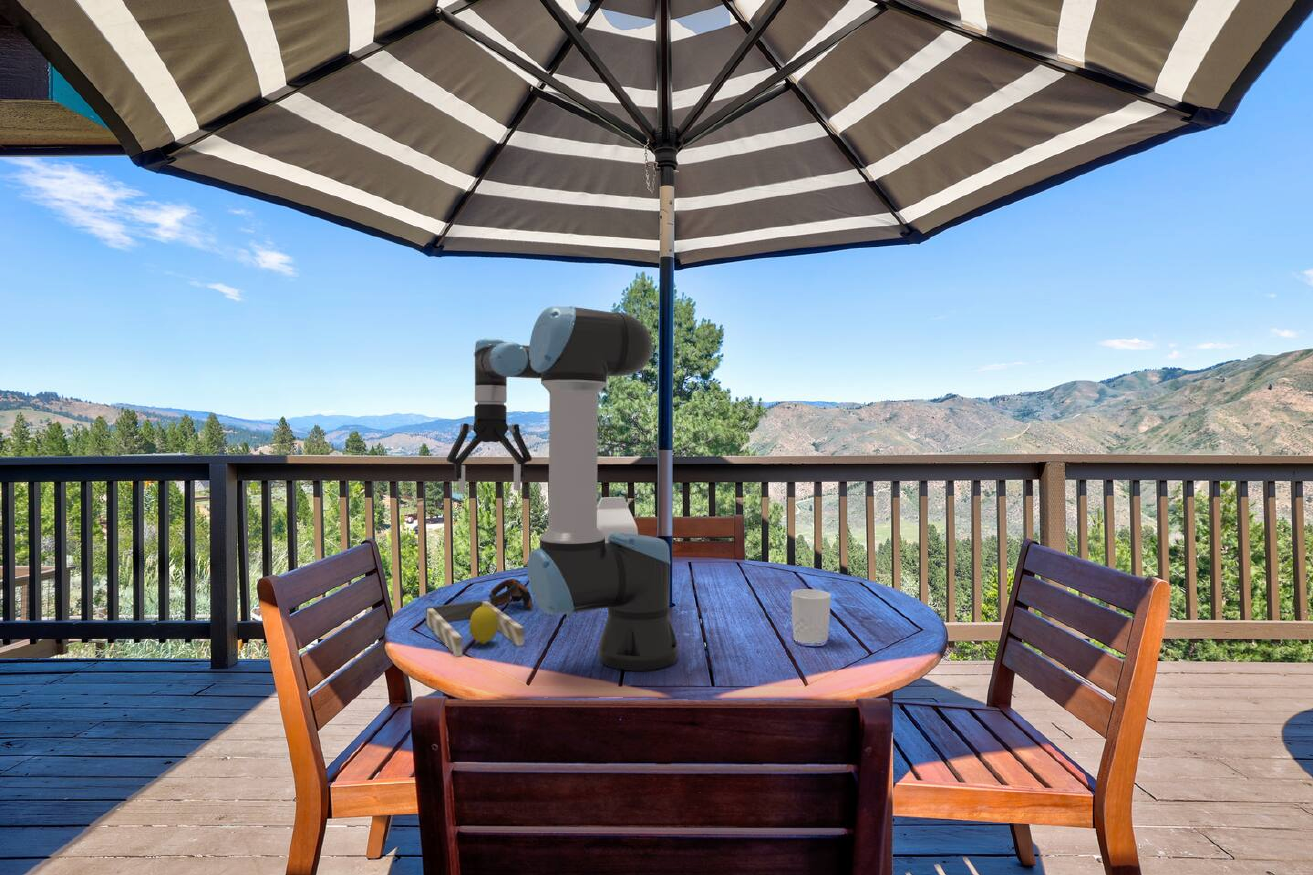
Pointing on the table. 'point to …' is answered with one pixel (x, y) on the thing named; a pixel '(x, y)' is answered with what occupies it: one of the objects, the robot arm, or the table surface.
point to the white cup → (810, 615)
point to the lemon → (483, 624)
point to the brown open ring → (510, 594)
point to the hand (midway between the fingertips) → (490, 491)
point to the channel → (461, 611)
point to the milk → (614, 517)
